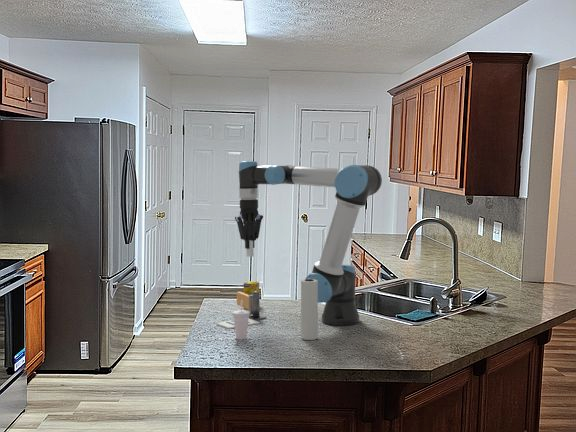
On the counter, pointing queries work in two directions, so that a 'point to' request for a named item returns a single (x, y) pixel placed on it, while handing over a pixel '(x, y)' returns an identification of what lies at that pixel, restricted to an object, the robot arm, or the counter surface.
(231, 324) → the label tile
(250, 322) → the label tile
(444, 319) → the counter surface
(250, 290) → the supplement box
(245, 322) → the smoothie
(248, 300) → the orange rectangular slab
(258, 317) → the pivot post
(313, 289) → the paper towel roll
